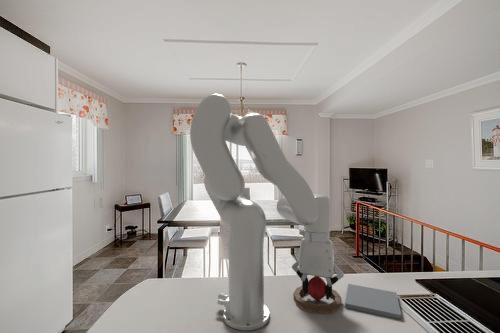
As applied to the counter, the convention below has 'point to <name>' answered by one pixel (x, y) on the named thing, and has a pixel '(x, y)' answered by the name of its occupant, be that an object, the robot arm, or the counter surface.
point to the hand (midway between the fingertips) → (317, 294)
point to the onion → (316, 288)
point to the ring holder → (314, 307)
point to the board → (373, 301)
